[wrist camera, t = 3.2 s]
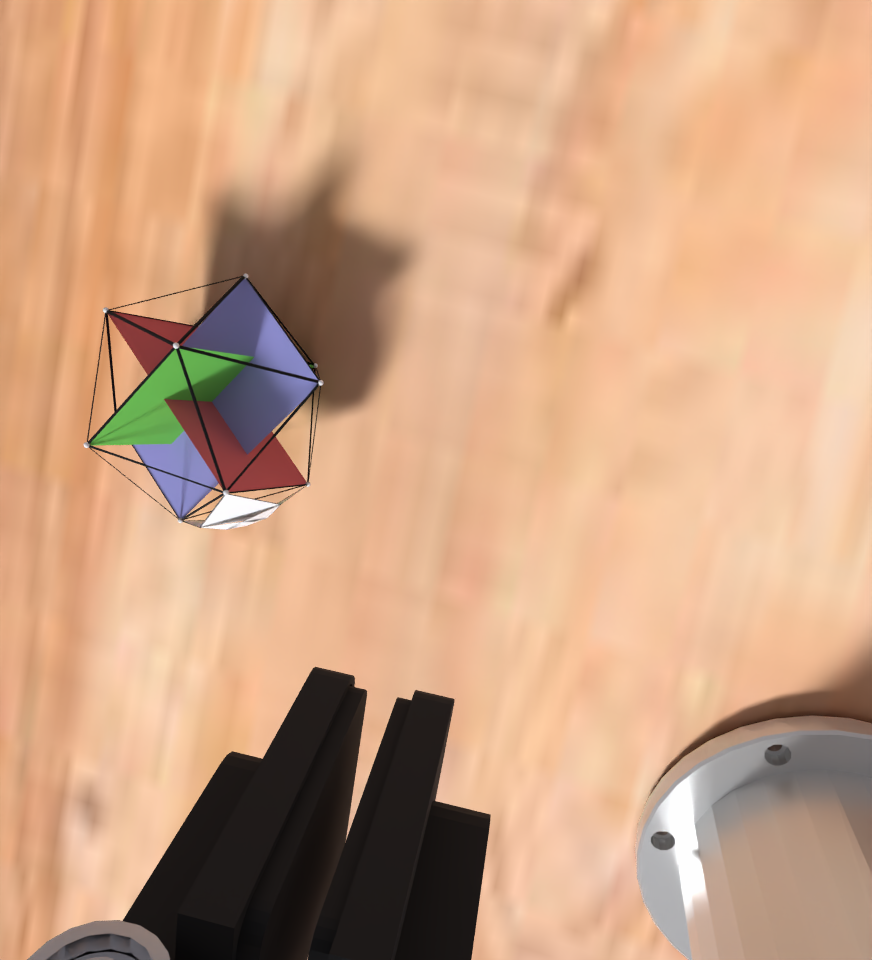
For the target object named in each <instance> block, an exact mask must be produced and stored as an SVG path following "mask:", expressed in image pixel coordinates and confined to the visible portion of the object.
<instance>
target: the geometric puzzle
mask: <svg viewBox="0 0 872 960" xmlns="http://www.w3.org/2000/svg"><path fill="white" fill-rule="evenodd" d="M248 277H249V276H248V274H244V275H243V276H241V278H240V277H237V278H240V279H239V280H238V281H237V282H236V283H235V284H234V285H233V286H232V287H231V288H230V289H229V290H228V291H227V292H226V293H225V294H224V296H223V297H222V298H221V299H220V300H219V301H218V302H217V303H216V304H215V305H214V306H213V307H212V308H211V309H210V310H209V311H208V312H207V313H206V314H205V315H204V316H203V317H202V318H201V319H200V320H199V321H198V322H197V323H196V324H195V325H194V326H193V325H187V324H182V323H176V322H171V321H165V320H160V319H154V318H149V317H143V316H138V315H132V314H127V313H121V312H116V311H110V310H112V309H108V308H103V312H104V313H105V317H106V326H107V336H108V347H109V358H110V368H111V379H112V390H113V400H114V411H115V412H114V414H113V415H112V416H111V417H110V418H109V419H108V420H107V421H106V422H105V424H104V425H103V426H102V427H101V428H100V429H99V430H98V431H97V433H96V434H95V435H94V436H93V437H92V438H91V439H90V440H89V441H88V437H89V430H90V423H91V416H92V409H93V402H94V395H95V388H96V381H95V388H94V395H93V402H92V409H91V416H90V423H89V430H88V437H87V442H85V443H84V447H85V448H88V447H89V448H90V447H91V448H93V449H96V450H99V451H102V452H105V453H108V454H111V455H114V456H117V457H120V458H123V459H125V460H128V461H131V462H134V463H137V464H140V465H143V466H146V468H147V470H148V471H149V473H150V474H151V476H152V478H153V479H154V481H155V482H156V484H157V485H158V487H159V489H160V490H161V492H162V493H163V495H164V496H165V498H166V500H167V501H168V503H169V504H170V506H171V507H172V509H173V511H174V512H175V514H176V515H177V517H178V518H179V519H178V522H179V523H182V522H185V523H188V524H191V525H194V526H196V527H199V528H212V529H226V530H227V529H232V528H234V527H235V528H237V527H242V526H247V525H250V524H253V523H255V521H256V522H258V520H259V521H261V520H263V519H265V518H268V517H269V516H270V515H271V514H272V513H273V512H274V511H275V510H276V509H277V508H278V507H279V506H280V505H281V504H282V503H283V502H285V501H286V500H288V499H289V498H290V497H292V496H293V495H295V494H296V493H297V492H299V491H300V490H301V489H300V490H298V491H297V492H295V493H293V494H292V495H290V496H288V497H287V498H285V499H284V500H282V501H280V502H279V503H277V504H276V503H271V502H266V501H261V500H256V499H259V498H263V497H266V496H263V497H259V498H256V499H251V498H246V497H241V496H236V495H231V494H229V493H238V492H247V491H257V490H266V489H275V488H285V487H294V486H298V487H301V486H305V485H306V486H307V487H309V486H310V482H309V475H310V470H309V466H310V467H311V462H310V449H311V433H312V416H313V400H314V391H315V390H316V389H317V388H318V386H319V385H320V389H321V385H323V383H324V382H323V381H322V380H320V377H319V378H318V377H317V375H316V374H315V368H316V371H317V367H318V364H317V363H313V362H312V360H311V359H310V358H309V357H308V355H307V354H306V353H305V351H304V350H303V349H302V348H301V346H300V345H299V344H298V343H297V341H296V340H295V339H294V337H293V336H292V335H291V334H290V332H289V331H288V330H287V328H286V327H285V326H284V325H283V323H282V322H281V321H280V319H279V318H278V317H277V316H276V314H275V313H274V312H273V310H272V309H271V308H270V307H269V305H268V304H267V303H266V301H265V300H264V299H263V298H262V296H261V295H260V294H259V292H258V291H257V290H256V289H255V287H254V286H253V285H252V283H251V282H250V281H249V280H248ZM233 279H236V278H233ZM229 280H232V279H229ZM225 281H228V280H225ZM221 282H224V281H221ZM217 283H220V282H217ZM213 284H216V283H213ZM209 285H212V284H209ZM205 286H208V285H205ZM201 287H204V286H201ZM197 288H200V287H197ZM193 289H196V288H193ZM189 290H192V289H189ZM185 291H188V290H185ZM181 292H184V291H181ZM177 293H180V292H177ZM173 294H176V293H173ZM169 295H172V294H169ZM165 296H168V295H165ZM161 297H164V296H161ZM157 298H160V297H157ZM153 299H156V298H153ZM149 300H152V299H149ZM145 301H148V300H145ZM141 302H144V301H141ZM137 303H140V302H137ZM133 304H136V303H133ZM129 305H132V304H129ZM125 306H128V305H125ZM121 307H124V306H121ZM117 308H120V307H117ZM113 309H116V308H113ZM270 310H271V311H272V312H271V311H270ZM212 311H213V312H212ZM211 312H212V313H211ZM210 313H211V314H210ZM272 313H273V314H274V315H275V316H274V315H273V314H272ZM209 314H210V315H209ZM108 315H109V316H110V318H111V319H112V321H113V323H114V324H115V326H116V327H117V329H118V330H119V332H120V333H121V335H122V336H123V338H124V339H125V341H126V342H127V344H128V345H129V347H130V348H131V350H132V352H133V353H134V355H135V356H136V358H137V359H138V361H139V362H140V364H141V365H142V367H143V368H144V370H145V371H146V373H147V374H148V376H147V377H146V378H145V379H144V380H143V381H142V382H141V384H140V385H139V386H138V387H137V388H136V389H135V390H134V391H133V392H132V394H131V395H130V396H129V397H128V398H127V399H126V400H125V401H124V402H123V404H122V405H121V406H120V407H119V408H118V409H116V398H115V387H114V376H113V366H112V355H111V344H110V333H109V322H108ZM208 315H209V316H208ZM207 316H208V317H207ZM206 317H207V318H206ZM275 317H276V318H277V319H278V320H279V322H280V323H281V324H282V326H283V327H284V328H285V329H286V331H287V332H288V333H289V334H290V336H291V337H292V338H293V340H294V341H295V342H296V343H297V345H298V346H299V347H300V349H301V350H302V351H303V352H304V354H305V355H306V356H307V358H308V359H309V360H310V361H311V363H310V362H307V361H306V360H305V358H304V357H303V356H302V354H301V353H300V351H299V350H298V349H297V347H296V346H295V344H294V343H293V342H292V340H291V339H290V337H289V336H288V335H287V333H286V332H285V330H284V329H283V328H282V326H281V325H280V323H279V322H278V321H277V319H276V318H275ZM203 321H204V322H203ZM202 322H203V323H202ZM201 323H202V324H201ZM104 324H105V318H104ZM200 324H201V325H200ZM103 331H104V325H103ZM102 338H103V332H102ZM101 345H102V339H101ZM100 352H101V346H100ZM99 359H100V353H99ZM98 366H99V360H98ZM313 369H314V371H313ZM97 373H98V367H97ZM317 373H318V371H317ZM318 376H319V374H318ZM96 380H97V374H96ZM312 393H313V397H312V413H311V430H310V446H309V462H308V479H307V482H306V481H305V479H304V478H303V476H302V475H301V473H300V472H299V470H298V469H297V467H296V466H295V465H294V463H293V462H292V460H291V459H290V457H289V456H288V454H287V453H286V451H285V450H284V448H283V447H282V446H281V444H280V443H279V441H278V440H277V438H276V437H275V436H276V435H277V434H278V433H279V432H280V431H281V429H282V428H283V427H284V426H285V425H286V424H287V422H288V421H289V420H290V419H291V418H292V417H293V415H294V414H295V413H296V412H297V411H298V410H299V409H300V407H301V406H302V405H303V404H304V403H305V402H306V400H307V399H308V398H309V397H310V396H311V395H312ZM319 397H320V391H319ZM300 403H301V404H300ZM299 404H300V405H299ZM298 405H299V406H298ZM318 405H319V399H318ZM297 406H298V407H297ZM296 407H297V408H296ZM295 408H296V409H295ZM294 409H295V411H294V412H293V413H292V414H291V415H290V416H289V418H288V419H287V420H286V421H285V422H284V423H283V424H282V426H281V427H280V428H279V429H278V430H277V431H276V433H275V434H273V432H272V430H273V429H274V428H275V427H276V426H277V425H278V424H279V423H280V422H281V421H282V420H283V419H284V418H286V417H287V416H288V415H289V414H290V413H291V412H292V411H293V410H294ZM317 412H318V407H317ZM316 420H317V415H316ZM315 428H316V423H315ZM314 436H315V431H314ZM313 444H314V439H313ZM90 445H132V446H133V448H134V449H135V451H136V452H137V454H138V455H139V457H140V459H141V460H142V462H143V463H144V464H143V463H140V462H137V461H134V460H131V459H128V458H125V457H122V456H120V455H117V454H114V453H111V452H108V451H105V450H102V449H99V448H96V447H93V446H90ZM91 448H90V449H91ZM91 450H92V449H91ZM93 451H94V450H93ZM312 451H313V446H312ZM94 452H95V451H94ZM95 453H96V452H95ZM96 454H97V453H96ZM98 455H99V454H98ZM99 456H100V455H99ZM100 457H101V456H100ZM101 458H102V457H101ZM103 459H104V458H103ZM311 459H312V454H311ZM104 460H105V459H104ZM105 461H106V460H105ZM106 462H107V461H106ZM108 463H109V462H108ZM109 464H110V463H109ZM110 465H111V464H110ZM111 466H112V465H111ZM113 467H114V466H113ZM114 468H115V467H114ZM115 469H116V468H115ZM116 470H117V469H116ZM118 471H119V470H118ZM119 472H120V471H119ZM120 473H121V472H120ZM121 474H122V473H121ZM123 475H124V474H123ZM124 476H125V475H124ZM125 477H126V476H125ZM126 478H127V477H126ZM129 480H130V479H129ZM130 481H131V480H130ZM131 482H132V481H131ZM218 483H219V484H220V486H221V487H222V489H223V491H221V490H218V489H215V488H214V487H215V486H216V485H217V484H218ZM134 484H135V483H134ZM135 485H136V484H135ZM136 486H137V485H136ZM306 486H305V487H306ZM298 487H295V488H298ZM139 488H140V487H139ZM303 488H304V487H303ZM303 488H302V489H303ZM140 489H141V488H140ZM212 489H213V490H215V491H218V492H221V493H223V494H221V495H219V496H218V497H216V498H215V499H213V500H211V501H210V502H208V503H206V504H205V505H203V506H201V507H200V508H198V509H197V510H195V511H193V512H192V513H190V514H188V513H189V512H190V511H191V510H192V509H193V508H194V507H195V506H196V505H197V504H198V503H199V502H200V501H201V500H202V499H203V498H204V497H205V496H206V495H207V494H208V493H209V492H210V491H211V490H212ZM291 489H294V488H291ZM291 489H288V490H291ZM141 490H142V489H141ZM284 491H287V490H284ZM284 491H281V492H284ZM144 492H145V491H144ZM145 493H146V492H145ZM277 493H280V492H277ZM277 493H274V494H277ZM146 494H147V493H146ZM223 495H224V496H223ZM270 495H273V494H270ZM270 495H267V496H270ZM149 496H150V495H149ZM222 496H223V497H222ZM150 497H151V496H150ZM220 497H222V499H221V500H220V501H219V503H218V504H217V505H216V507H215V508H214V509H213V510H212V511H210V512H211V513H210V512H206V513H210V514H209V516H208V517H207V518H206V520H194V521H183V520H185V519H188V518H187V517H189V516H190V515H192V514H194V513H195V512H197V511H199V510H200V509H202V508H204V507H205V506H207V505H208V504H210V503H212V502H213V501H215V500H217V499H218V498H220ZM151 498H152V497H151ZM154 500H155V499H154ZM155 501H156V500H155ZM156 502H157V501H156ZM159 504H160V503H159ZM160 505H161V504H160ZM161 506H162V505H161ZM164 508H165V507H164ZM165 509H166V508H165ZM166 510H167V509H166ZM169 512H170V511H169ZM170 513H171V512H170ZM206 513H203V514H206ZM171 514H172V513H171ZM187 514H188V515H187ZM203 514H199V515H203ZM186 515H187V516H186ZM199 515H196V516H199ZM174 516H175V515H174ZM175 517H176V516H175ZM177 517H176V518H177ZM192 517H195V516H192ZM192 517H189V518H192ZM244 520H245V521H244ZM237 521H243V522H238V523H231V522H237ZM225 523H231V524H225ZM219 524H223V525H219ZM212 525H215V526H212ZM206 526H208V527H206Z"/></svg>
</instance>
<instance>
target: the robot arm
mask: <svg viewBox="0 0 872 960" xmlns="http://www.w3.org/2000/svg"><path fill="white" fill-rule="evenodd" d="M354 684H355V677H354V676H353V675H348V674H344V673H340V672H335V671H331V670H327V669H322V668H318V667H315V668H313V670H312V671H311V673H310V674H309V676H308V678H307V680H306V682H305V683H304V685H303V687H302V689H301V691H300V692H299V694H298V696H297V698H296V700H295V702H294V703H293V705H292V707H291V709H290V711H289V712H288V714H287V716H286V718H285V720H284V721H283V723H282V725H281V727H280V729H279V730H278V732H277V734H276V736H275V738H274V739H273V741H272V743H271V745H270V747H269V748H268V750H267V752H266V754H265V756H264V757H263V759H261V758H257V757H253V756H249V755H245V754H241V753H237V752H231V753H229V754H228V755H227V756H226V757H225V758H224V760H223V761H222V762H221V764H220V765H219V767H218V769H217V770H216V772H215V773H214V775H213V777H212V778H211V780H210V781H209V783H208V785H207V786H206V788H205V789H204V791H203V793H202V794H201V796H200V797H199V799H198V801H197V802H196V804H195V806H194V807H193V809H192V810H191V812H190V814H189V815H188V817H187V818H186V820H185V822H184V823H183V825H182V826H181V828H180V830H179V831H178V833H177V834H176V836H175V838H174V839H173V841H172V842H171V844H170V846H169V847H168V849H167V850H166V852H165V854H164V855H163V857H162V858H161V860H160V862H159V863H158V865H157V867H156V868H155V870H154V871H153V873H152V875H151V876H150V878H149V879H148V881H147V883H146V884H145V886H144V887H143V889H142V891H141V892H140V894H139V895H138V897H137V899H136V900H135V902H134V903H133V905H132V907H131V908H130V910H129V911H128V913H127V915H126V916H125V918H124V919H123V921H120V920H113V921H94V922H91V923H88V924H84V925H81V926H77V927H74V928H71V929H69V930H67V931H65V932H63V933H62V934H60V935H58V936H56V937H54V938H53V939H51V940H49V941H47V942H46V943H45V944H44V945H43V946H42V947H41V948H40V949H38V950H37V951H36V952H35V953H34V954H33V955H32V956H31V957H30V958H28V959H27V960H307V958H308V960H471V957H472V950H473V942H474V935H475V928H476V921H477V914H478V906H479V899H480V892H481V885H482V877H483V870H484V863H485V856H486V848H487V841H488V834H489V826H490V814H485V813H481V812H477V811H473V810H469V809H465V808H461V807H457V806H453V805H449V804H445V803H441V802H437V801H435V799H436V794H437V789H438V783H439V778H440V773H441V768H442V763H443V758H444V753H445V747H446V742H447V737H448V732H449V727H450V722H451V716H452V711H453V706H454V699H452V698H448V697H443V696H439V695H435V694H430V693H426V692H422V691H417V690H415V692H414V695H413V698H412V701H411V700H407V699H403V698H399V697H398V698H397V700H396V702H395V705H394V708H393V710H392V713H391V716H390V719H389V722H388V724H387V727H386V730H385V733H384V736H383V739H382V741H381V744H380V747H379V750H378V753H377V755H376V758H375V761H374V764H373V767H372V769H371V772H370V775H369V778H368V781H367V784H366V786H365V789H364V792H363V795H362V798H361V800H360V803H359V806H358V809H357V812H356V814H355V817H354V820H353V823H352V826H351V828H350V831H349V834H348V837H347V840H346V835H347V828H348V821H349V815H350V808H351V801H352V794H353V787H354V780H355V773H356V767H357V760H358V753H359V746H360V739H361V732H362V726H363V719H364V712H365V705H366V698H367V691H366V690H364V689H360V688H356V687H354ZM345 841H346V843H345ZM635 855H636V868H637V879H638V883H639V887H640V891H641V895H642V899H643V902H644V904H645V906H646V908H647V910H648V912H649V914H650V916H651V918H652V920H653V921H654V923H655V925H656V926H657V927H658V929H659V930H660V931H661V932H662V934H663V935H664V936H665V937H666V939H667V940H668V941H669V942H670V944H671V945H672V946H673V947H674V948H676V949H677V950H678V951H679V952H680V953H681V954H682V955H683V956H684V957H686V958H687V959H688V960H872V723H869V722H865V721H860V720H856V719H851V718H843V717H827V716H812V715H811V716H799V717H788V718H776V719H771V720H767V721H763V722H759V723H755V724H751V725H747V726H743V727H740V728H737V729H735V730H732V731H730V732H728V733H725V734H723V735H721V736H718V737H716V738H714V739H711V740H709V741H708V742H706V743H705V744H703V745H701V746H700V747H698V748H697V749H695V750H694V751H692V752H691V753H689V754H688V755H686V756H684V757H683V758H682V759H681V760H680V761H679V762H678V763H677V764H676V765H675V766H674V767H673V768H672V769H671V770H670V771H668V772H667V773H666V774H665V775H664V776H663V777H662V779H661V780H660V782H659V783H658V785H657V786H656V787H655V789H654V790H653V792H652V793H651V795H650V796H649V798H648V799H647V801H646V804H645V807H644V809H643V812H642V814H641V817H640V820H639V822H638V827H637V835H636V843H635Z"/></svg>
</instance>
